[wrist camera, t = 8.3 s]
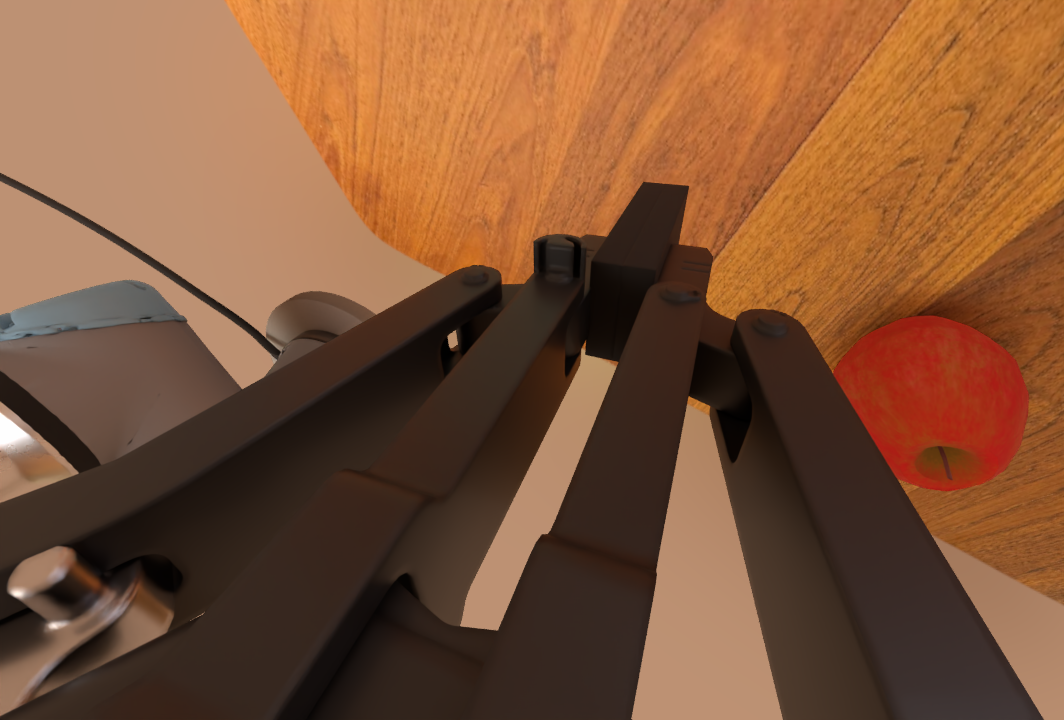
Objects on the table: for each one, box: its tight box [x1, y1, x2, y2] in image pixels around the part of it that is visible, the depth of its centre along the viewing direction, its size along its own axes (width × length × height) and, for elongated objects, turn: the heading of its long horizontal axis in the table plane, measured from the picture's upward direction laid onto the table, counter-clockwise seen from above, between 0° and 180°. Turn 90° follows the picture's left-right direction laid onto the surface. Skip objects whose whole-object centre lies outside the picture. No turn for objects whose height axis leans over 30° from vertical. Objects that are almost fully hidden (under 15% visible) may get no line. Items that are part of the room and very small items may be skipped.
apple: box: [833, 315, 1029, 491], centre depth 24 cm, size 8×8×11 cm
